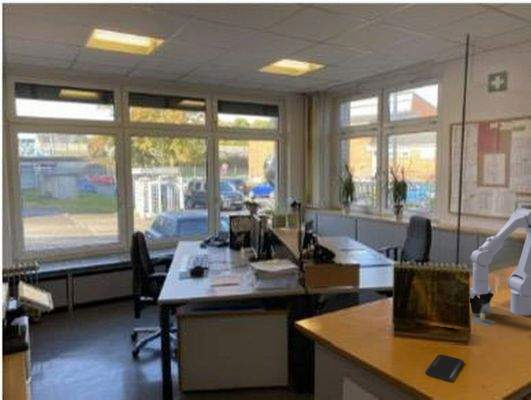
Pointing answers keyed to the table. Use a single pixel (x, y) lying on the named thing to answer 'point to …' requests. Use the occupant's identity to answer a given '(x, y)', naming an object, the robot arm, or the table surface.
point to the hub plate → (487, 322)
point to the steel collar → (483, 308)
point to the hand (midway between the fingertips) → (479, 311)
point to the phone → (444, 367)
